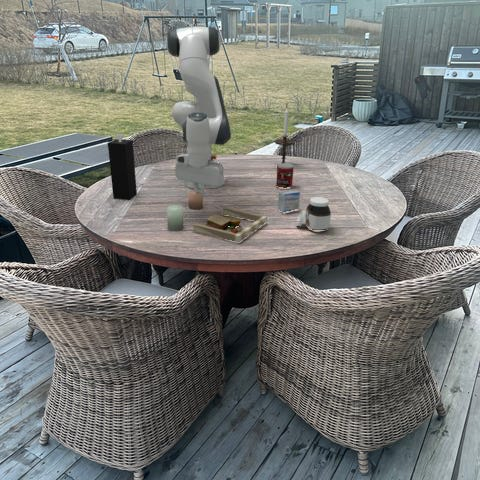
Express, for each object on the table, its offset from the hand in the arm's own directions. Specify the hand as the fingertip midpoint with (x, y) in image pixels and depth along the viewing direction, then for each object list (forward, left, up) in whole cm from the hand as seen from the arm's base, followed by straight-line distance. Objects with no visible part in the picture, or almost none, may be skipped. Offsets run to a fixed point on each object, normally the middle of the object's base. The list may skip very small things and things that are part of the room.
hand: (200, 193), depth 172 cm
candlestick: (-90, -5, -11) cm, 91 cm away
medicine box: (-27, +26, -11) cm, 39 cm away
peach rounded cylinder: (-10, -9, -11) cm, 17 cm away
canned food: (-56, +11, -11) cm, 58 cm away
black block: (-4, -43, -11) cm, 45 cm away
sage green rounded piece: (+12, -3, -11) cm, 16 cm away
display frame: (+1, +14, -11) cm, 18 cm away
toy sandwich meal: (+5, +14, -11) cm, 18 cm away
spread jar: (-15, +41, -11) cm, 45 cm away
